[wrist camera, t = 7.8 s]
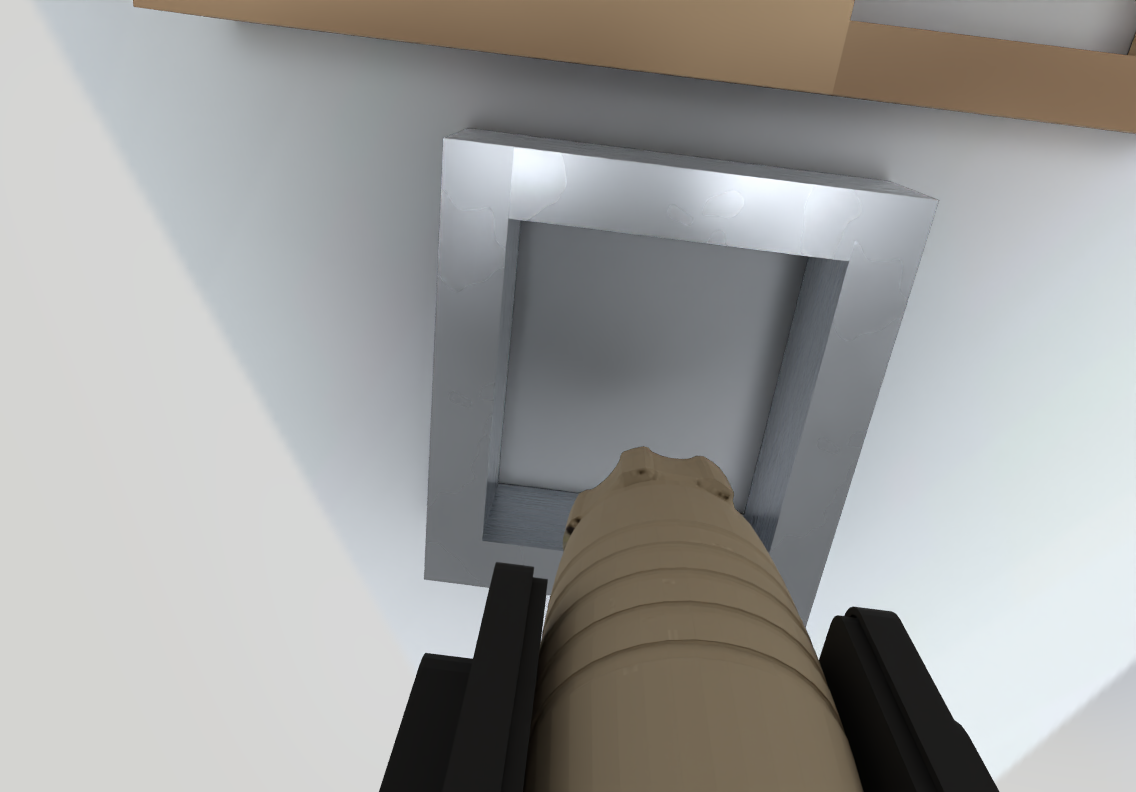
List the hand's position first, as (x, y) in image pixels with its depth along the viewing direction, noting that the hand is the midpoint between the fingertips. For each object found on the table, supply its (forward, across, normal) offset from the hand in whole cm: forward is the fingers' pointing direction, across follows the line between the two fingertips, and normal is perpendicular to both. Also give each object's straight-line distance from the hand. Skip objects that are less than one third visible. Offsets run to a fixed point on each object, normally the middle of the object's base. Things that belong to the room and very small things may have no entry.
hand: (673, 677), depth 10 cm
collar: (+11, 0, 0) cm, 11 cm away
